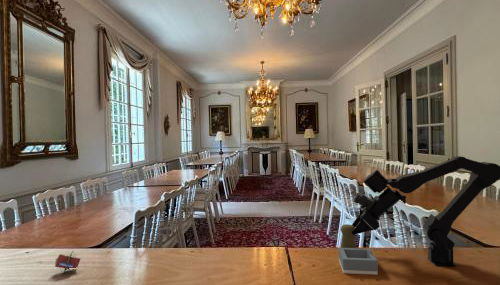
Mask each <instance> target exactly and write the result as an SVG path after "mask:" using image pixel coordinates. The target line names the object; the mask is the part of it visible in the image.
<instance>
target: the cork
mask: <svg viewBox="0 0 500 285" xmlns="http://www.w3.org/2000/svg"><path fill="white" fill-rule="evenodd" d="M354 228H355V227H354V226H353V225H352V224H350V223H349V224H346V223H345V224H342V226H340V232H341V233H342V234H341V243H340V248H357V246H356V240H355V235H353V234H352V233H351V232H352V231H353V230H354Z"/></svg>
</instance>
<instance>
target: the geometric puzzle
mask: <svg viewBox="0 0 500 285" xmlns="http://www.w3.org/2000/svg"><path fill="white" fill-rule="evenodd" d="M67 253H69V251H68V252H66V254H67ZM66 254H63V253H62V254H60V253H59V255H58V256H57V258H56V259H55V262H54V267H55V268H57V269H58V268H59V271H62V270H61V268H62V269H64V270H65V269H66V270H68V271H71V270H70V269H69V268H76V267H77V268H78V266H79V264H80V262H81V258H79V257H77V256H76V255H77V254H76V252H74V250H73V251H71V253H69V254H67V255H66ZM73 254H74V255H73ZM75 254H76V255H75Z"/></svg>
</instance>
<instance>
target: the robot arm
mask: <svg viewBox="0 0 500 285" xmlns="http://www.w3.org/2000/svg"><path fill="white" fill-rule="evenodd" d="M458 170H465V171H469V172H470V174H469V178H468V181H467V182H466V184H465V185H463V187H462V188H461V189H460V191H459V192H458V193H457V194H456V195H455V196H454V197H453V198H452V200H451V201H450V202H449V203H448V204H447V205H446V206H445V208H443V210H442V211H441V212H440V213H438V214H437V215H434V214H433V213H431V214H429V216H428V217H427V219H426V220H424V221H423V223H424V224H423V226H422V231H423V232H424V234H425V236H426V237H427V238H428V239H429V240H430V241H431V242H429V246H428V248H427V251H428V252H427V259H428V260H429V261H430V262H431V263H432V264H433V265H434V266H438V267H439V266H440V267H441V266H442V267H456V266H457V264H456V263H454V246H455V245H456V244H455V242H454V241H453V240H452V239H451V238H450V237H449V236H448V235H449V234H450V231H451V230H452V229H451V228H452V226H453V224H454V222H455V221H456V220H457V219H458V218H459V216H460V215H461V214H462V213H463V212H464V211H465V210H466V209H467V208H468V206H469V205H470V204H471V203H472V202H473V201H474V200H475V199H476V197H477V196H479V194H480V193H481V192H482V191H483V190H485V189H486V188H489V187H491V186H493V185H494V184H496V182H498V181H499V180H500V165H499V164H497V163H494V162H493V163H492V162H487V161H481V162H480V161H477V160H473V159H469V158H466V157H465V156H461V155H460V156H459V155H456V156H453V157H452V158H449V159H448V160H446V161H443V162H440V163H438V164H435V165H433V166H431V167H428V168H425V169H423V170H419V171H416V172H410V173H405V174H402V175H398V176H397V177H395V178H389V179H388V178H386V177H385V176H384V175H383V174H382V173H381V172H380V171H379V170H378V169H375V170H374V171H373V172H371V173H370V174H368V175H367V176H366V177H365V178H364V179H363V180H362V183H363V184H364V185H366V187H367V188H369V189H370V190H371V191H372V192H373V193H374V194H376V193H378V194H379V195H377V197H375V196H374V197H373V198H371V197H368V196H367V195H364V194H363V193H360V192H356V194H355V196H354V198H353V202H354V203H355V204H357V205H359V208H358V209H359V214H358V215H357V216H356V218H355V219H354V221H353V222H352V224H351V225H353V226H354V227H355V228H354V230H353V231H352V232H351V233H352V234H353V235H354V236H355V235H359V234H362V233H363V234H364V233H366V232H371V231H377V230H378V229H379V228H380V222H379V221H380V220H381V219H380V218H381V217H383V215H384V214H388V213H389V212H390V209H391V208H392V207H394V206H395V205H396V204H397V203H398V202H399V201H401V202H402V203H403V204H404V205H405V204H407V195H405V194H411V193H412V192H414V191H416V190H417V189H419V188H421V187H422V186H423V185H425V184H426V183H429V182H430V181H433V180H436V179H438V178H441V177H443V176H446V175H448V174H451V173H454V172H456V171H458ZM390 187H391V188H390ZM392 188H393V189H392ZM398 190H399V191H400V192H401V193H400V192H399V191H398ZM402 193H403V194H402Z"/></svg>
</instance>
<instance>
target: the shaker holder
mask: <svg viewBox="0 0 500 285" xmlns="http://www.w3.org/2000/svg"><path fill="white" fill-rule="evenodd" d="M338 261H339V265H340V267H341V270H342V273H343V274H354V275H355V274H356V275H379V273H378V272H379V270H378V269H379V268H378V267H379V266H378V265H379V263H378V262H379V261H378V259H377V258H376V255H375V254H374V253H373V252H372V250H371V248H365V247H364V248H363V247H362V248H361V247H356V248H341V247H338Z"/></svg>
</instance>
